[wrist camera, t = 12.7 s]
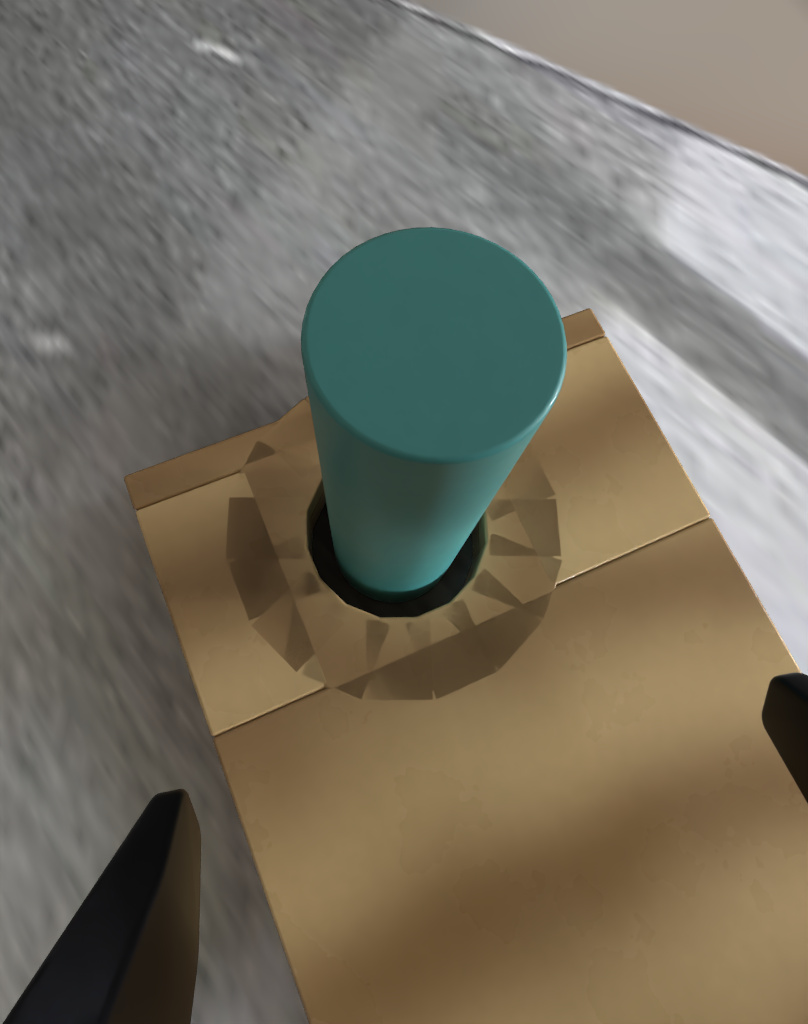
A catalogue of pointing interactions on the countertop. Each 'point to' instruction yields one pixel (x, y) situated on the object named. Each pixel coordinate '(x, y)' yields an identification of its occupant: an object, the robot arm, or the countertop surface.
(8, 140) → the countertop surface
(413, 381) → the peg
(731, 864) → the board
